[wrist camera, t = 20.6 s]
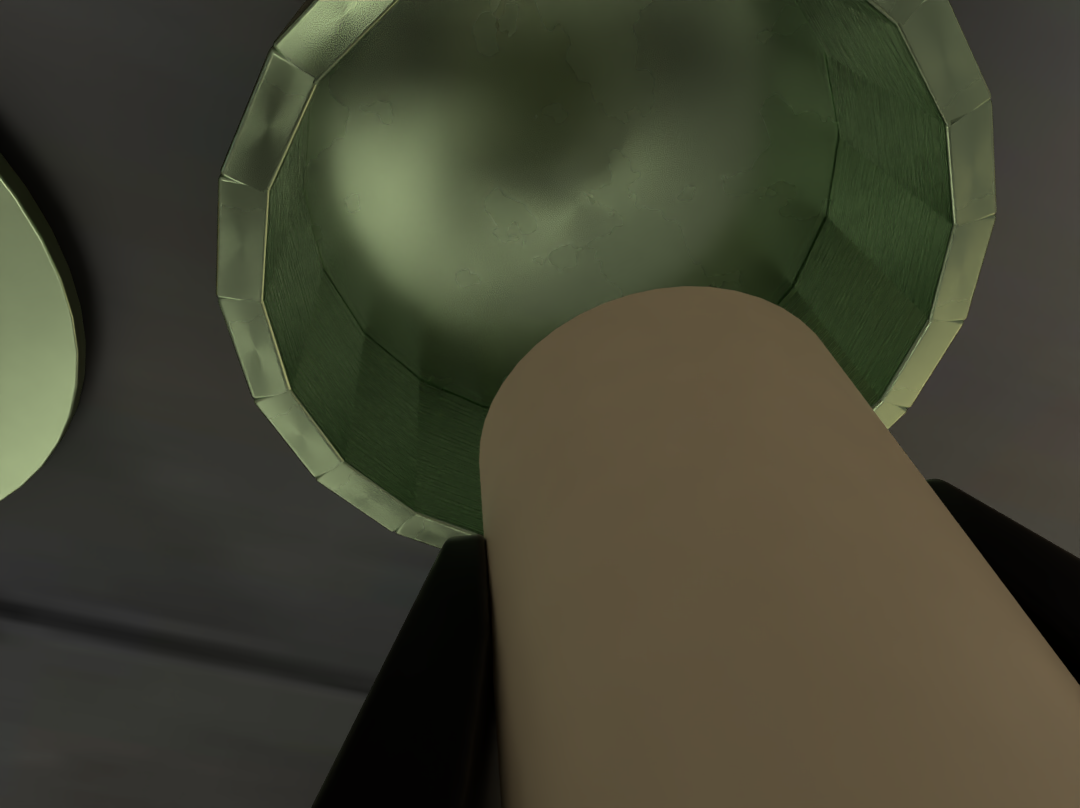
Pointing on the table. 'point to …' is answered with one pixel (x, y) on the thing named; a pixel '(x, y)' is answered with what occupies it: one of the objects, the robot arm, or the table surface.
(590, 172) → the tin
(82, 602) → the table surface
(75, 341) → the lid
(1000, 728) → the candle
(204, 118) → the table surface
